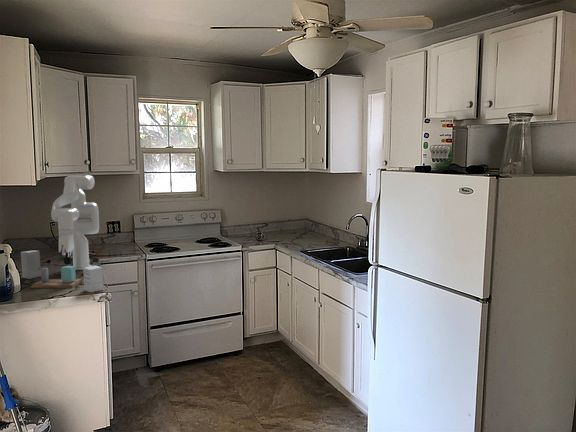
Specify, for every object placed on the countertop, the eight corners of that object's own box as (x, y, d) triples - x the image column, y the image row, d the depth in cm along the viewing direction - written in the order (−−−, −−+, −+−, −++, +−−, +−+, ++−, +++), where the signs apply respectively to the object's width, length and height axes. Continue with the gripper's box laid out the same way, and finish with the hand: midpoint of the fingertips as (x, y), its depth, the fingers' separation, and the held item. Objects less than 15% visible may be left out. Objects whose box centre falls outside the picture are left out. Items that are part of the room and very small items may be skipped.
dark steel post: (43, 281, 267) (43, 267, 266) (48, 281, 267) (48, 267, 266) (41, 282, 265) (40, 268, 264) (46, 282, 265) (45, 268, 264)
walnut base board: (43, 281, 273) (42, 279, 273) (81, 281, 274) (81, 278, 274) (31, 288, 259) (31, 285, 259) (72, 287, 260) (72, 285, 260)
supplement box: (97, 287, 261) (95, 265, 260) (103, 289, 256) (102, 267, 255) (84, 290, 256) (82, 267, 254) (90, 292, 251) (89, 269, 249)
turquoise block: (65, 278, 269) (65, 265, 268) (75, 278, 269) (75, 265, 269) (61, 281, 264) (60, 268, 263) (71, 281, 264) (71, 268, 263)
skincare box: (29, 279, 278) (27, 252, 276) (21, 277, 281) (19, 251, 279) (42, 276, 285) (40, 250, 283) (34, 274, 288) (32, 249, 286)
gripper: (64, 229, 270) (66, 261, 272) (53, 233, 255) (55, 267, 258) (78, 229, 271) (79, 261, 273) (67, 233, 256) (69, 266, 258)
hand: (67, 264), depth 265 cm, fingers closed
